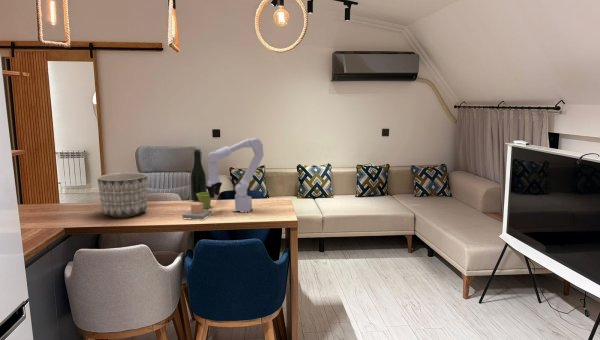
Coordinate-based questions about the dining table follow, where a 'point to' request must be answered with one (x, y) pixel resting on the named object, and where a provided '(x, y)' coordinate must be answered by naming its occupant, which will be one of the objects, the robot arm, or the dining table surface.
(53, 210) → the dining table surface
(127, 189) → the planter
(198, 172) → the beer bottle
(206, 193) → the plant pot
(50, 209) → the dining table surface
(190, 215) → the slate plinth
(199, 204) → the terracotta cube
